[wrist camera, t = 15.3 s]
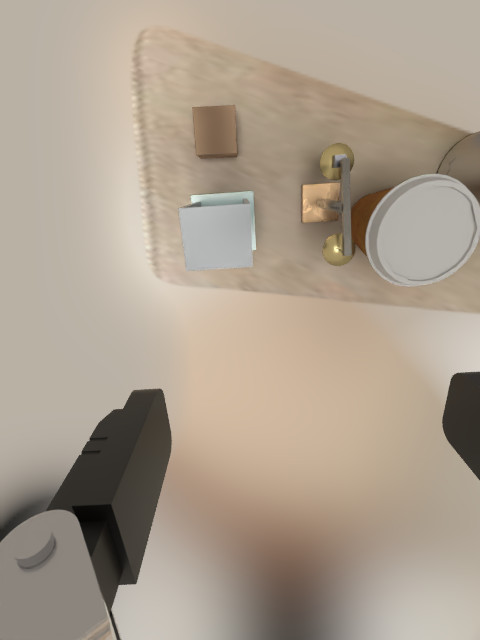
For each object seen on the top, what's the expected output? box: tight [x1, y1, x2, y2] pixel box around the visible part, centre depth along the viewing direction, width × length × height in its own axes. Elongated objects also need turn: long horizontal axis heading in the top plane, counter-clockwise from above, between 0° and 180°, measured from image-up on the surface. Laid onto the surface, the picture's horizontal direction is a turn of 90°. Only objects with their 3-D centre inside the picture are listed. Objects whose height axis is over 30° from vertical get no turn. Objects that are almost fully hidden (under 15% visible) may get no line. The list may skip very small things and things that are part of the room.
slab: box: [191, 191, 256, 250], centre depth 38 cm, size 7×6×1 cm
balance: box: [301, 143, 355, 266], centre depth 32 cm, size 4×11×12 cm, turn 4°
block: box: [192, 105, 237, 158], centre depth 33 cm, size 4×4×4 cm
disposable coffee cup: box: [351, 174, 480, 287], centre depth 32 cm, size 10×10×12 cm
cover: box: [178, 198, 253, 271], centre depth 32 cm, size 6×5×12 cm
